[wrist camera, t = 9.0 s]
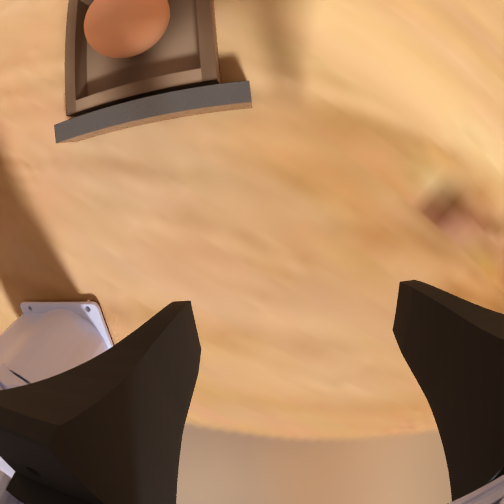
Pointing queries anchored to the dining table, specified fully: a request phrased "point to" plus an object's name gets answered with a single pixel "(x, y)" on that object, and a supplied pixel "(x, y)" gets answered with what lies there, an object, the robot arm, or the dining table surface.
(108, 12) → the ball
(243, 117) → the dining table surface
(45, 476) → the robot arm
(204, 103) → the rail
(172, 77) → the tray
